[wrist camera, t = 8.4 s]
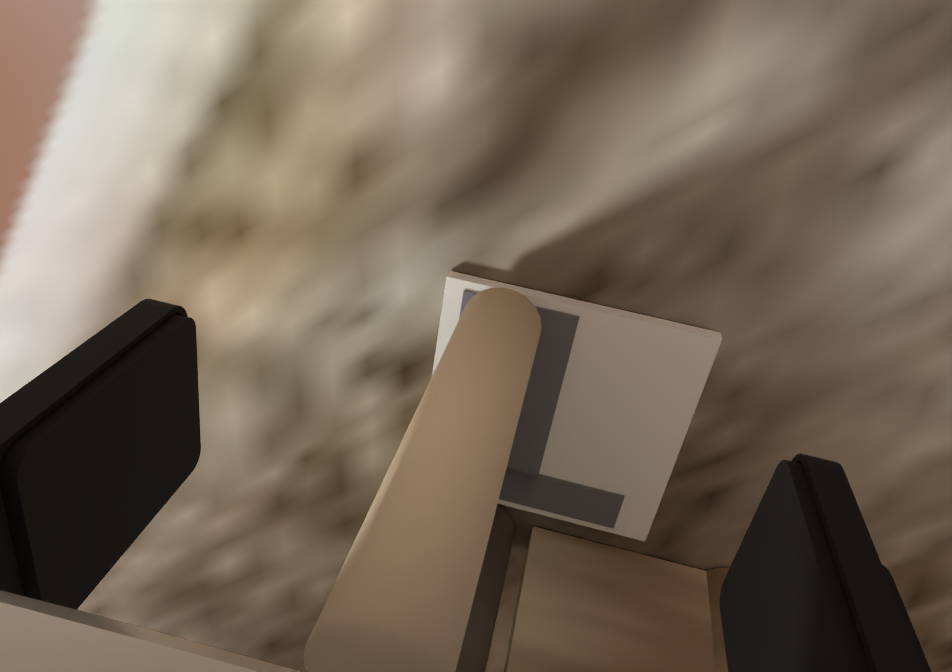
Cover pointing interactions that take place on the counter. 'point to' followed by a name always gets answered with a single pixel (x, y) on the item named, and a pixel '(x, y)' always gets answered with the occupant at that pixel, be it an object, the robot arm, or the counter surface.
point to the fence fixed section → (595, 609)
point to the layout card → (596, 407)
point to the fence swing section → (434, 504)
